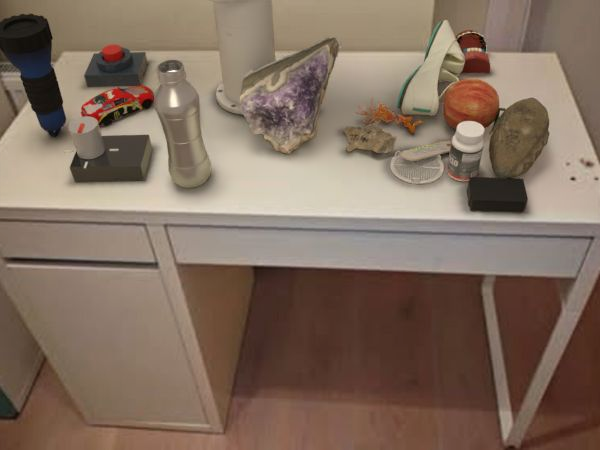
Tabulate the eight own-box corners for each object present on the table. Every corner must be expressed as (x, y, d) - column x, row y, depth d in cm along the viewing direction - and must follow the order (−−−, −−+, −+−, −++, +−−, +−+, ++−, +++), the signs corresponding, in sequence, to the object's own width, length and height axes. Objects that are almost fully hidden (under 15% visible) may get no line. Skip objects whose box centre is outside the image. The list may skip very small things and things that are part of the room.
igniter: (147, 62, 128) (143, 44, 125) (140, 85, 122) (136, 66, 119) (96, 64, 128) (91, 45, 125) (87, 86, 122) (81, 67, 119)
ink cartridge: (520, 189, 98) (466, 187, 98) (523, 178, 96) (468, 176, 97) (525, 213, 94) (468, 211, 95) (528, 201, 93) (470, 200, 93)
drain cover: (388, 181, 100) (388, 176, 99) (392, 148, 106) (392, 143, 105) (443, 186, 99) (444, 181, 98) (444, 152, 105) (444, 147, 104)
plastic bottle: (216, 166, 104) (199, 53, 90) (208, 194, 99) (188, 80, 85) (177, 165, 105) (153, 52, 91) (166, 193, 100) (140, 79, 86)
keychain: (450, 137, 107) (462, 145, 105) (449, 141, 107) (461, 149, 105) (397, 150, 102) (409, 158, 100) (397, 153, 103) (408, 162, 100)
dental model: (457, 51, 117) (452, 24, 124) (452, 77, 120) (447, 49, 128) (497, 53, 116) (489, 26, 124) (490, 79, 120) (484, 51, 127)
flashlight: (81, 116, 115) (47, 9, 101) (83, 142, 110) (47, 33, 96) (34, 124, 114) (-7, 17, 100) (34, 151, 108) (-10, 41, 94)
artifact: (354, 110, 110) (400, 125, 103) (358, 124, 112) (405, 139, 105) (326, 138, 107) (372, 155, 101) (331, 152, 109) (377, 169, 103)
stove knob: (80, 142, 105) (71, 115, 101) (108, 141, 105) (99, 114, 101) (74, 159, 102) (64, 132, 98) (102, 159, 102) (93, 131, 98)
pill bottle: (443, 164, 103) (450, 120, 97) (473, 161, 103) (481, 117, 97) (450, 183, 99) (458, 139, 94) (481, 181, 100) (490, 136, 94)
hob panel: (153, 148, 108) (149, 132, 106) (144, 182, 102) (140, 166, 100) (76, 149, 108) (71, 134, 106) (62, 183, 102) (56, 168, 100)
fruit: (452, 98, 100) (517, 105, 100) (448, 62, 107) (509, 70, 107) (439, 141, 106) (500, 148, 106) (436, 105, 113) (493, 112, 113)
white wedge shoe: (434, 47, 126) (473, 58, 125) (391, 125, 112) (436, 139, 110) (442, 9, 120) (484, 20, 118) (398, 86, 106) (445, 100, 104)
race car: (147, 92, 120) (142, 72, 118) (161, 105, 117) (156, 85, 114) (79, 118, 115) (73, 98, 112) (92, 132, 112) (86, 112, 109)
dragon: (417, 141, 108) (418, 126, 105) (352, 127, 112) (351, 113, 108) (424, 121, 110) (425, 106, 107) (360, 108, 113) (359, 94, 110)
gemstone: (235, 127, 113) (249, 169, 102) (227, 38, 104) (242, 74, 93) (335, 114, 116) (359, 153, 106) (336, 27, 107) (363, 59, 96)
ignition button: (125, 52, 124) (123, 44, 122) (121, 62, 121) (119, 53, 120) (106, 53, 124) (104, 44, 123) (102, 62, 121) (99, 54, 120)
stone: (539, 195, 96) (537, 153, 91) (479, 190, 100) (474, 149, 95) (558, 123, 106) (558, 82, 101) (502, 122, 110) (499, 82, 105)
